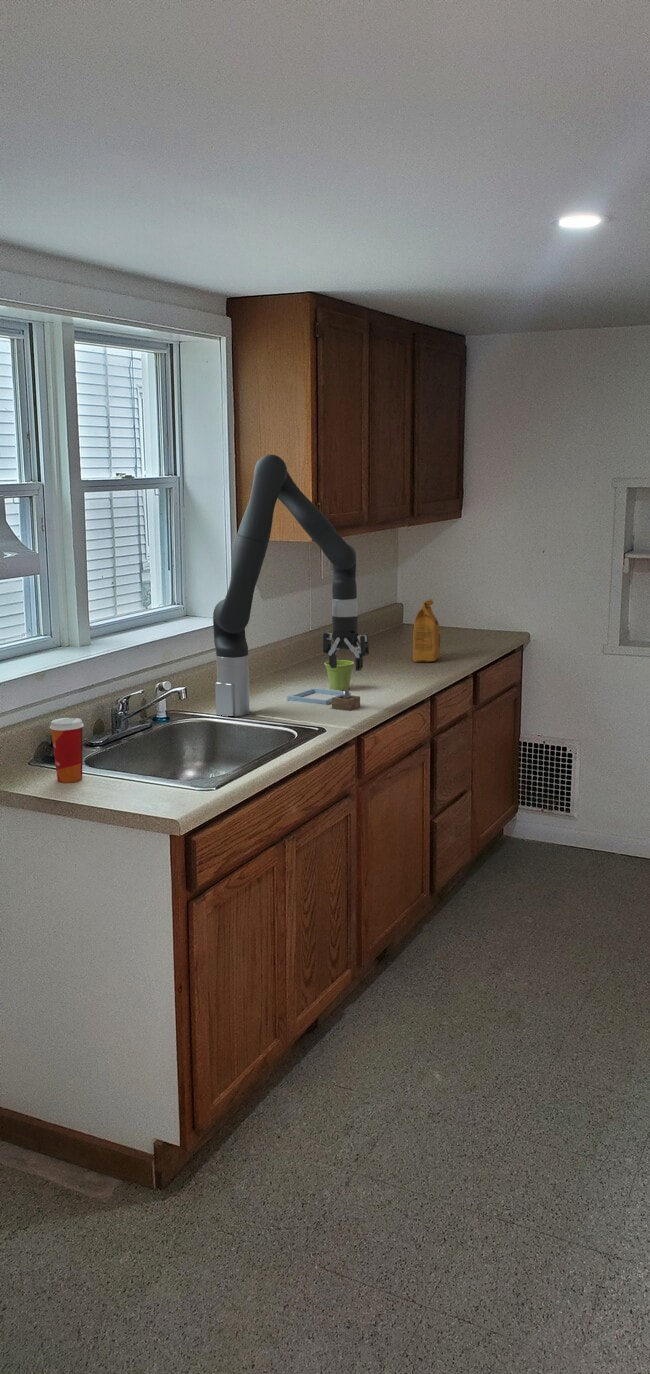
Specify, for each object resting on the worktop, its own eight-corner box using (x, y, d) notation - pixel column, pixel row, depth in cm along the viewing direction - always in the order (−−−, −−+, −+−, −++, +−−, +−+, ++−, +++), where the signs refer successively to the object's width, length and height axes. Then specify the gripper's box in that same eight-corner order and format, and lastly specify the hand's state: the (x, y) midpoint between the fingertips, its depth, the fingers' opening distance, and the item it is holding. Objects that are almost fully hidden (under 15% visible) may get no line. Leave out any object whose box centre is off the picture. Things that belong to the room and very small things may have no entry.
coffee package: (444, 658, 407) (444, 598, 402) (435, 664, 395) (436, 603, 391) (418, 657, 410) (418, 598, 406) (409, 662, 399) (409, 602, 394)
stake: (350, 713, 319) (349, 693, 317) (329, 710, 322) (329, 691, 321) (362, 709, 324) (362, 689, 323) (342, 706, 328) (342, 687, 327)
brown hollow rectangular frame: (349, 710, 319) (349, 700, 318) (332, 708, 322) (331, 698, 322) (363, 705, 326) (363, 695, 325) (346, 703, 329) (346, 693, 328)
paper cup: (63, 774, 260) (60, 716, 257) (92, 776, 258) (89, 717, 255) (46, 783, 253) (42, 723, 250) (76, 785, 250) (72, 725, 248)
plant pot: (348, 692, 348) (348, 665, 346) (320, 691, 351) (320, 664, 349) (358, 687, 356) (357, 660, 354) (330, 685, 359) (330, 659, 358)
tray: (326, 707, 327) (326, 700, 327) (287, 702, 335) (287, 696, 334) (350, 698, 339) (350, 692, 338) (312, 694, 346) (312, 688, 346)
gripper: (317, 614, 319) (318, 669, 322) (359, 617, 311) (360, 673, 314) (331, 611, 325) (332, 665, 328) (372, 613, 317) (373, 668, 320)
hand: (346, 669), depth 321 cm, fingers open, 8 cm apart
